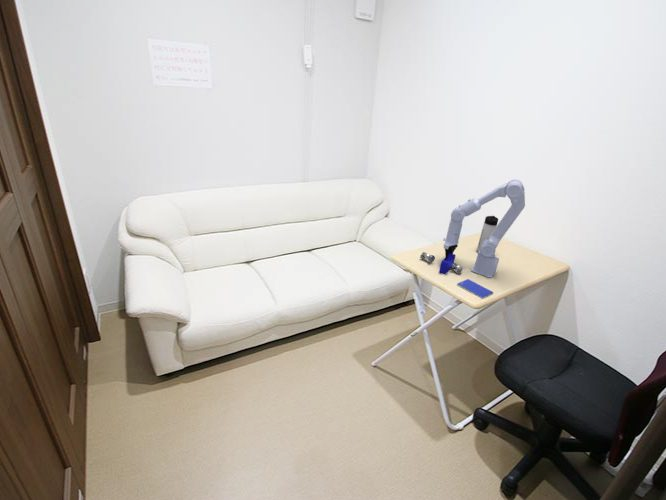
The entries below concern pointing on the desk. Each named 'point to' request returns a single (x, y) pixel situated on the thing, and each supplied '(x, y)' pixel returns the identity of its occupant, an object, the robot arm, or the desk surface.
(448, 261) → the cable clip
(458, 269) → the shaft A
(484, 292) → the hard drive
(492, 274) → the robot arm
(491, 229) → the travel mug
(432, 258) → the shaft
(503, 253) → the desk surface
